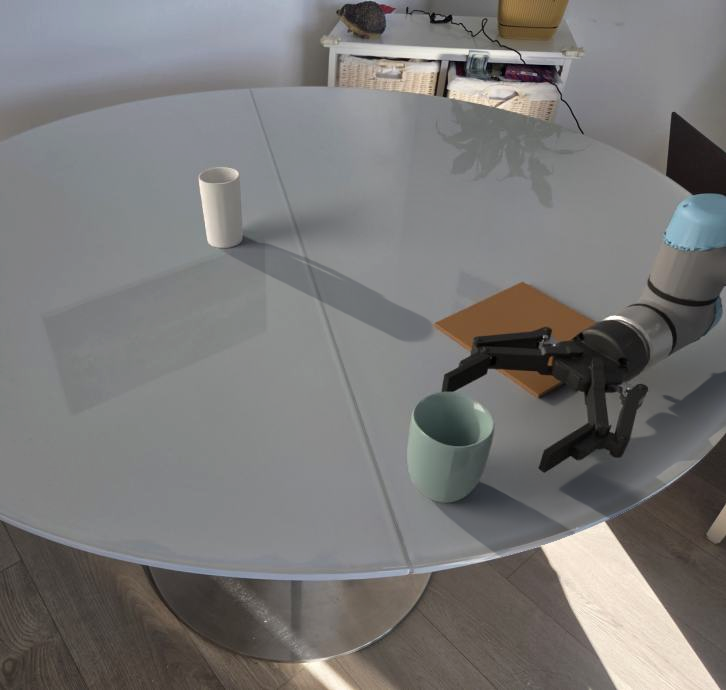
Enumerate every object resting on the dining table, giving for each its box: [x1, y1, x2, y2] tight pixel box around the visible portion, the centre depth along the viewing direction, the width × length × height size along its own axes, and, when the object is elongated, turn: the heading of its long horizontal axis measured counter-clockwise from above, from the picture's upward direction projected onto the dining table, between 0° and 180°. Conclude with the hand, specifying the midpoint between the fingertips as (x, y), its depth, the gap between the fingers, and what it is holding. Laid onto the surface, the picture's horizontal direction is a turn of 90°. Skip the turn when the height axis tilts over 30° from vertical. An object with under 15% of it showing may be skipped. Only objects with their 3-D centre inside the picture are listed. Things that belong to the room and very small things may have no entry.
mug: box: [198, 166, 244, 249], centre depth 110 cm, size 10×7×12 cm, turn 2°
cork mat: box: [433, 281, 597, 399], centre depth 87 cm, size 18×18×1 cm
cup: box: [406, 391, 496, 504], centre depth 65 cm, size 8×8×10 cm
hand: (490, 421), depth 67 cm, fingers open, 13 cm apart
